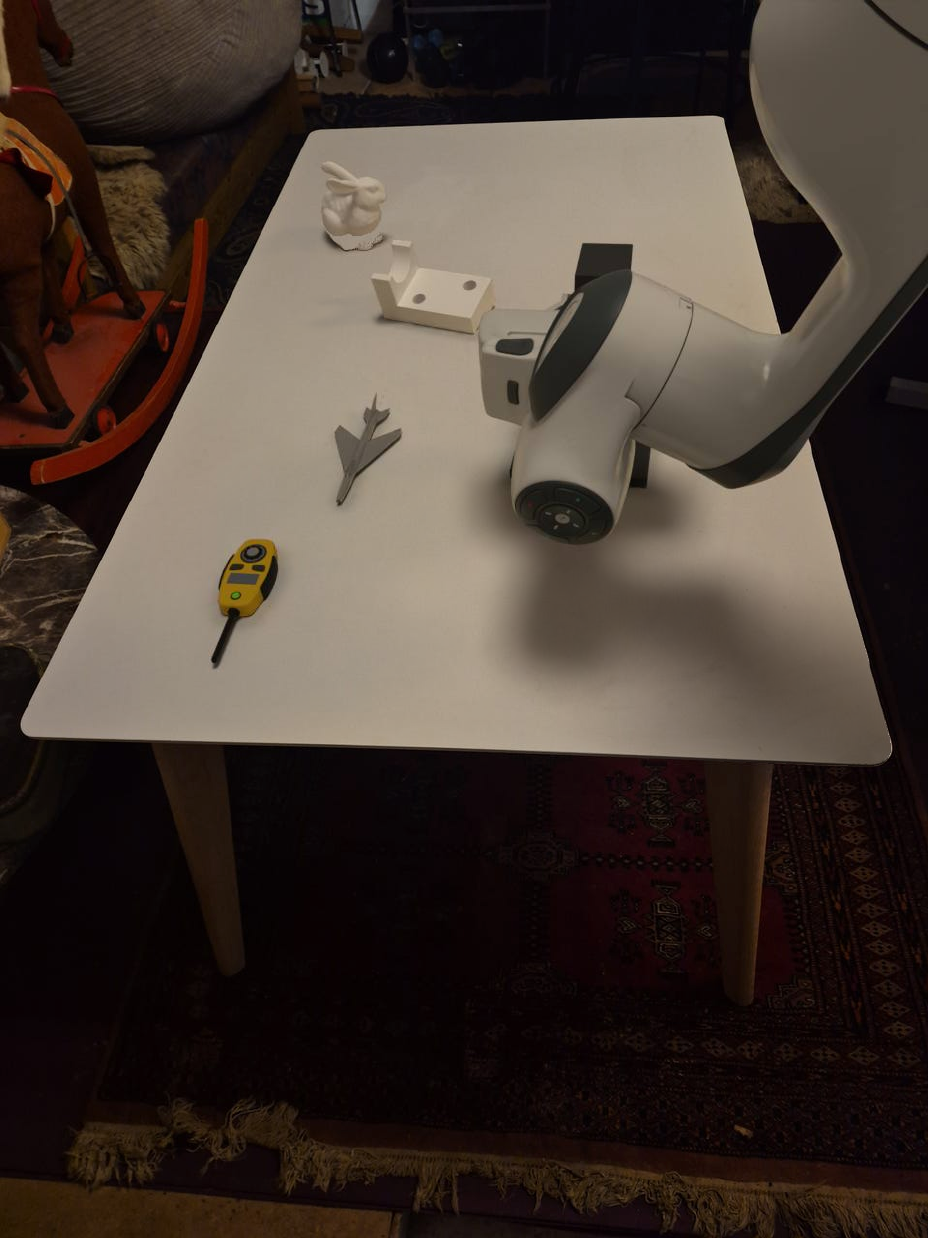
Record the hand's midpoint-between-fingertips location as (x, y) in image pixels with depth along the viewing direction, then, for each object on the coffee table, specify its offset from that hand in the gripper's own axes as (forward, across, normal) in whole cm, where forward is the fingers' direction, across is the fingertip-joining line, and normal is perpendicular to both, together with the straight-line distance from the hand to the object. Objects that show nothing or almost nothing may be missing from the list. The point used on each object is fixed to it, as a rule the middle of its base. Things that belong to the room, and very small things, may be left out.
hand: (602, 301), depth 78 cm
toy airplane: (-1, +25, +17) cm, 31 cm away
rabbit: (+47, +40, +17) cm, 64 cm away
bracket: (+27, +23, +17) cm, 39 cm away
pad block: (-1, 0, +6) cm, 6 cm away
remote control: (-26, +30, +18) cm, 44 cm away
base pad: (+4, +1, +17) cm, 18 cm away
